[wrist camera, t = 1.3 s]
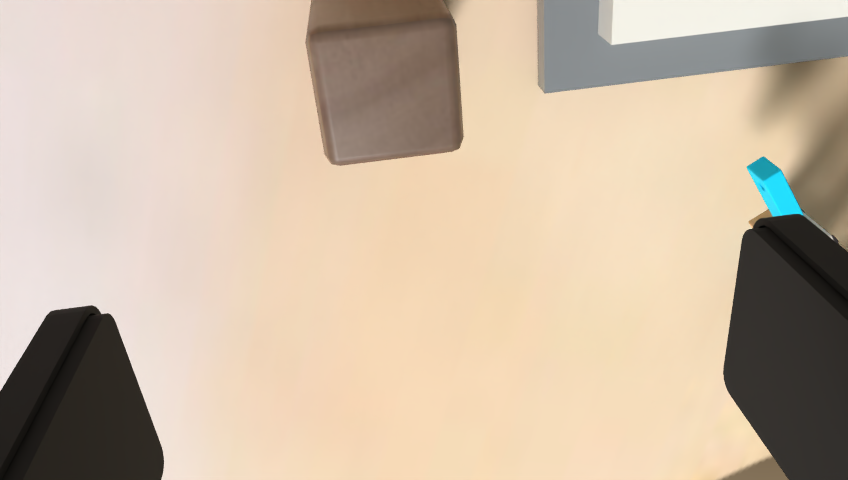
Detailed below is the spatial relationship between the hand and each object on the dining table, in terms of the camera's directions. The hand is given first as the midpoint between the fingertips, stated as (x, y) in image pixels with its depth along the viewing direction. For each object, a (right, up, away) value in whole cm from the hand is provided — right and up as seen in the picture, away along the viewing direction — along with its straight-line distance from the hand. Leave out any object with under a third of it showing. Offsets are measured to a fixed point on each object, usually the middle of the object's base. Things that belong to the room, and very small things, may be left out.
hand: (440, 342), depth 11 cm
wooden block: (-2, +9, +16) cm, 19 cm away
